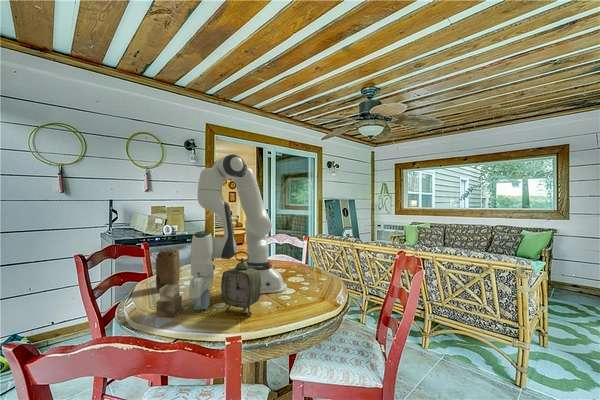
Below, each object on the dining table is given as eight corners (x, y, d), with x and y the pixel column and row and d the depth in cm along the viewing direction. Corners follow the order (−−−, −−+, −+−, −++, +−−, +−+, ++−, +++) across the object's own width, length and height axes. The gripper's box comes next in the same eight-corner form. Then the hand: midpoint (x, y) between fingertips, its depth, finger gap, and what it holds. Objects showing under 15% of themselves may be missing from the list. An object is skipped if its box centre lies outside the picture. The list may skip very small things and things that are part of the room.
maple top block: (179, 296, 117) (179, 284, 117) (173, 301, 111) (173, 288, 111) (166, 296, 117) (166, 284, 117) (159, 301, 111) (159, 288, 111)
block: (180, 285, 150) (181, 248, 150) (173, 290, 143) (174, 251, 143) (161, 285, 151) (161, 248, 151) (153, 290, 143) (153, 250, 143)
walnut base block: (181, 310, 118) (181, 296, 118) (174, 317, 111) (174, 302, 111) (164, 310, 117) (164, 295, 117) (156, 317, 110) (156, 302, 110)
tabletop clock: (221, 312, 115) (221, 251, 115) (234, 305, 123) (235, 248, 123) (250, 318, 109) (251, 254, 109) (263, 310, 118) (263, 250, 118)
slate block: (209, 305, 123) (209, 289, 123) (205, 310, 118) (205, 293, 118) (198, 305, 123) (198, 289, 123) (193, 310, 118) (194, 293, 118)
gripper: (201, 276, 110) (200, 312, 110) (216, 264, 130) (215, 294, 130) (184, 276, 110) (184, 312, 110) (202, 264, 130) (202, 294, 130)
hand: (201, 302), depth 120 cm, fingers closed on slate block, 5 cm apart
